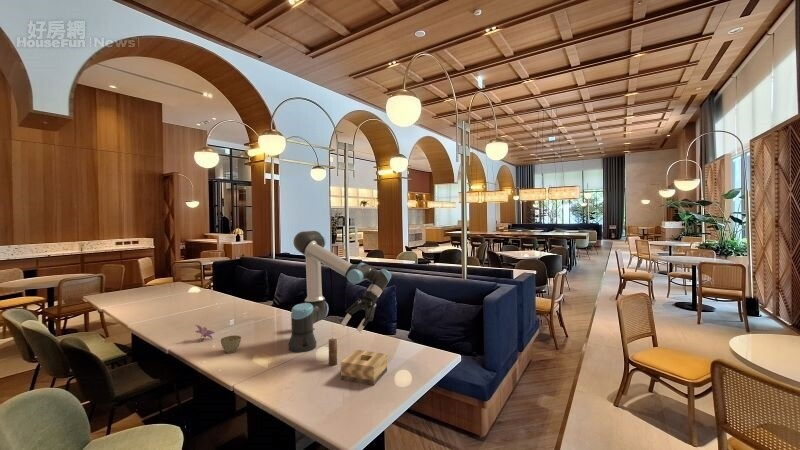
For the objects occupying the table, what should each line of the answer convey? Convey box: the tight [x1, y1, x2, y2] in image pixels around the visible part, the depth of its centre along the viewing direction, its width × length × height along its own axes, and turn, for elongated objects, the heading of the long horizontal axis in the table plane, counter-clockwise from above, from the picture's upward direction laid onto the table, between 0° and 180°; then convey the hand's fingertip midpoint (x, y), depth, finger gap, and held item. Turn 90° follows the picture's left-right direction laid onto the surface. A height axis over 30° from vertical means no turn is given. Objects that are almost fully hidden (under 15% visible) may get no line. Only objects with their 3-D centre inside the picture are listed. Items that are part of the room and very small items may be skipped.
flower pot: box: [220, 334, 242, 354], centre depth 184 cm, size 10×10×7 cm
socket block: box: [340, 349, 388, 386], centre depth 155 cm, size 16×15×8 cm
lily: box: [195, 324, 216, 343], centre depth 201 cm, size 12×12×10 cm
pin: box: [328, 338, 338, 367], centre depth 167 cm, size 4×4×12 cm
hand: (350, 328), depth 175 cm, fingers open, 13 cm apart
